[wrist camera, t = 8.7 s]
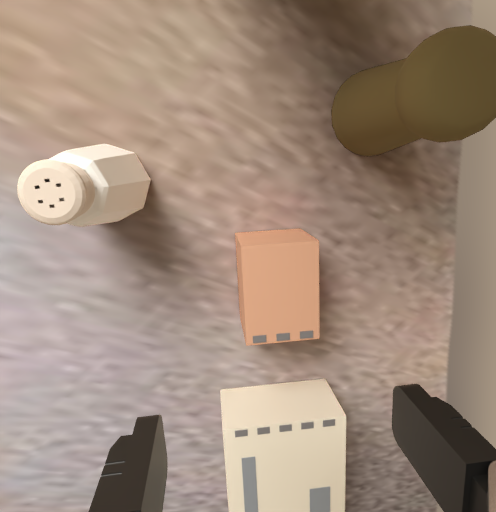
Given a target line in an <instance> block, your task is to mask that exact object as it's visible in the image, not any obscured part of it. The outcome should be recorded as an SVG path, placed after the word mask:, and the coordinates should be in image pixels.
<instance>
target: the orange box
mask: <svg viewBox="0 0 496 512" xmlns="http://www.w3.org/2000/svg"><path fill="white" fill-rule="evenodd" d="M235 239H236V257H237V274H238V291H239V308H240V319H241V324H242V328H243V332H244V337H245V341H246V346H248V345H259V344H269V343H279V342H290V341H300V340H311V339H319V240H317V239H316V238H314V237H312V236H311V235H309V234H308V233H306V232H305V231H303V230H302V229H300V228H299V229H285V230H270V231H255V232H240V233H235Z"/></svg>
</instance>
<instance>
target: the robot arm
mask: <svg viewBox="0 0 496 512" xmlns="http://www.w3.org/2000/svg"><path fill="white" fill-rule="evenodd" d="M392 429H393V434H394V437H395V440H396V442H397V444H398V445H399V447H400V448H401V450H402V451H403V453H404V454H405V456H406V457H407V458H408V460H409V461H410V463H411V464H412V466H413V467H414V469H415V470H416V472H417V473H418V475H419V476H420V477H421V479H422V480H423V482H424V483H425V485H426V486H427V488H428V489H429V491H430V492H431V493H432V495H433V496H434V498H435V499H436V501H437V502H438V504H439V505H440V507H441V508H442V510H443V511H444V512H496V449H495V448H494V447H493V446H492V445H491V444H490V443H489V442H488V441H487V440H486V439H485V438H484V437H483V436H482V435H481V434H480V433H479V432H478V431H477V430H476V429H475V428H472V426H471V424H470V423H469V422H467V420H465V419H463V417H462V416H461V415H460V414H459V413H458V412H457V411H456V410H455V409H454V408H453V407H452V406H451V405H449V404H448V403H446V402H444V401H442V400H441V399H439V398H437V397H430V396H429V394H428V393H427V392H426V391H425V390H424V389H423V388H422V387H421V386H420V385H418V384H410V385H402V386H396V387H395V388H394V390H393V409H392ZM101 475H102V476H101V477H100V480H99V483H98V486H97V489H96V492H95V495H94V498H93V501H92V504H91V507H90V510H89V512H162V510H163V502H164V494H165V486H166V479H167V452H166V444H165V437H164V430H163V423H162V417H161V415H153V416H145V417H138V418H137V420H136V423H135V427H134V431H133V434H132V435H127V436H121V437H120V438H119V439H118V440H117V441H116V443H115V444H114V445H113V446H112V447H111V449H110V451H109V454H108V457H107V460H106V463H105V466H104V468H103V471H102V474H101Z"/></svg>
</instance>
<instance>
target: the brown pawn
mask: <svg viewBox="0 0 496 512" xmlns="http://www.w3.org/2000/svg"><path fill="white" fill-rule="evenodd" d="M331 114H332V126H333V129H334V131H335V134H336V136H337V138H338V139H339V141H340V142H341V143H342V144H343V146H344V147H345V148H347V149H348V150H350V151H352V152H353V153H355V154H359V155H363V156H373V155H380V154H382V153H385V152H387V151H390V150H392V149H395V148H398V147H400V146H403V145H405V144H408V143H410V142H413V141H416V140H418V139H421V138H423V139H427V140H431V141H436V142H448V141H456V140H462V139H464V138H466V137H468V136H470V135H473V134H475V133H477V132H479V131H481V130H483V129H484V128H485V127H486V126H487V125H488V124H489V123H490V122H491V121H492V120H494V119H495V118H496V36H494V35H493V34H492V33H490V32H489V31H487V30H485V29H481V28H478V27H474V26H471V25H470V26H460V27H452V28H446V29H444V30H442V31H440V32H438V33H436V34H434V35H432V36H430V37H429V38H427V39H425V40H424V41H423V42H422V43H421V44H420V45H419V46H418V47H417V48H416V49H414V50H413V51H412V52H411V54H410V55H409V56H408V58H406V59H402V60H399V61H395V62H391V63H388V64H384V65H381V66H377V67H373V68H370V69H366V70H363V71H361V72H359V73H356V74H354V75H352V76H351V77H350V78H349V79H348V80H347V81H345V82H344V83H343V84H342V85H341V87H340V89H339V91H338V92H337V94H336V96H335V98H334V102H333V106H332V111H331Z"/></svg>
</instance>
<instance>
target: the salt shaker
mask: <svg viewBox="0 0 496 512" xmlns="http://www.w3.org/2000/svg"><path fill="white" fill-rule="evenodd" d="M150 181H151V179H150V177H149V176H148V174H147V172H146V171H145V169H144V167H143V165H142V164H141V162H140V160H139V158H138V157H137V155H136V153H134V152H131V151H127V150H124V149H121V148H118V147H115V146H112V145H108V144H99V145H94V146H88V147H82V148H76V149H70V150H67V151H64V152H61V153H59V154H57V155H56V156H54V157H52V158H50V159H48V160H41V161H36V162H34V163H32V164H31V165H29V166H28V167H27V168H26V169H25V170H24V171H23V172H22V174H21V176H20V178H19V180H18V186H17V191H18V197H19V200H20V203H21V205H22V207H23V208H24V209H25V211H26V212H27V213H28V214H29V215H30V216H31V217H32V218H34V219H36V220H37V221H39V222H41V223H45V224H48V225H61V224H66V223H67V224H70V225H74V226H78V227H84V226H91V225H97V224H104V223H111V222H117V221H120V220H122V219H124V218H126V217H127V216H129V215H131V214H133V213H135V212H137V211H139V210H140V209H142V208H144V205H145V201H146V197H147V193H148V189H149V185H150Z"/></svg>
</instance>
